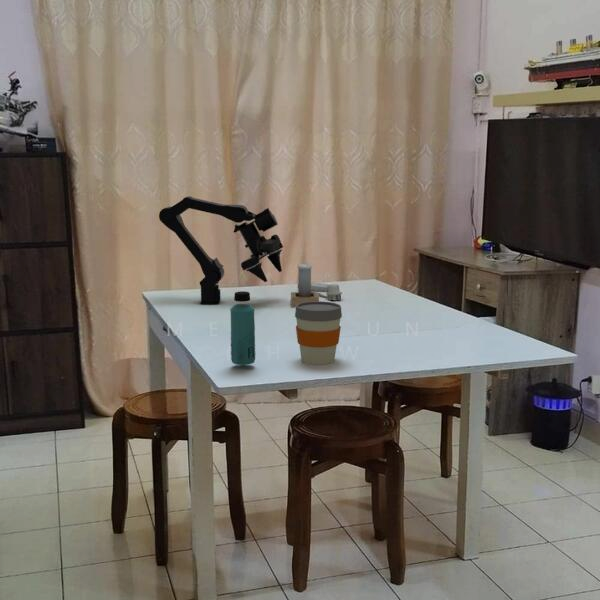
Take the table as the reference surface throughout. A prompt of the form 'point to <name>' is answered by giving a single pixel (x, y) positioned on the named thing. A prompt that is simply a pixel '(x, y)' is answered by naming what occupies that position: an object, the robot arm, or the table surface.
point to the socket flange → (302, 298)
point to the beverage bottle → (242, 331)
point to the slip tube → (304, 279)
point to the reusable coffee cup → (318, 331)
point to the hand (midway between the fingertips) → (273, 276)
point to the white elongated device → (327, 290)
